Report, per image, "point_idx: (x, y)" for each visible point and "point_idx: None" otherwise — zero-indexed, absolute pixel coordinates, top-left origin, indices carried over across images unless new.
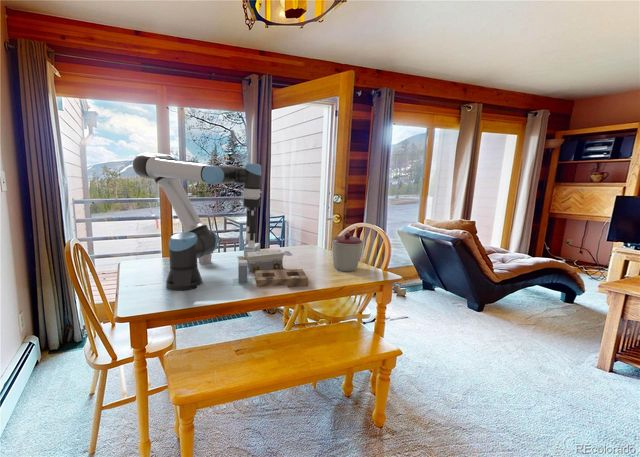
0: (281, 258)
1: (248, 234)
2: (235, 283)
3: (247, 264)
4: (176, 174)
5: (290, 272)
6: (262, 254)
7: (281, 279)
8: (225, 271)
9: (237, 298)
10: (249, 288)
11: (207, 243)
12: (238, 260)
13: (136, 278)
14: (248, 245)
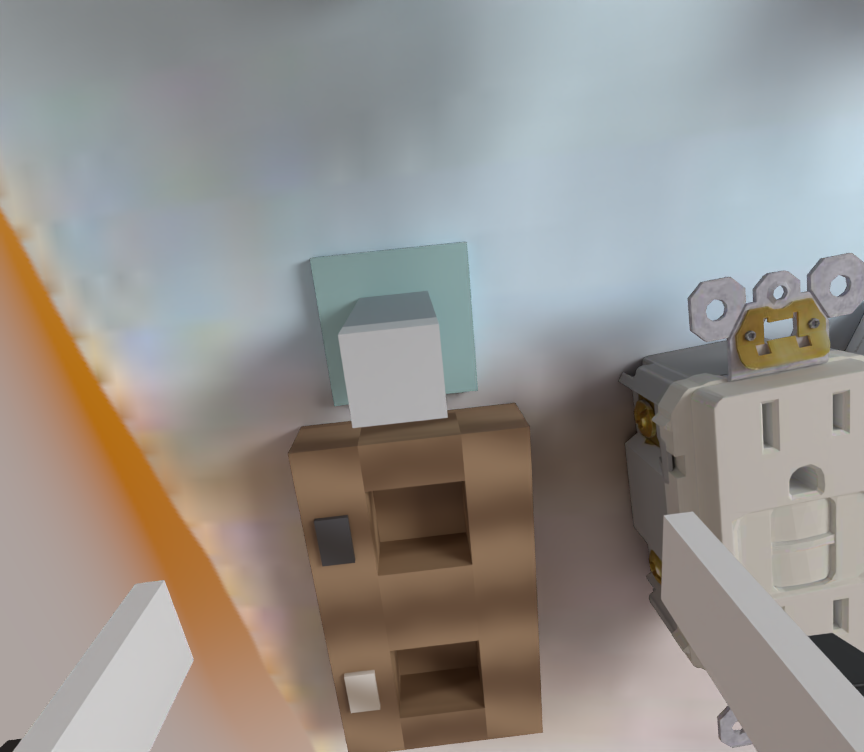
0: (687, 653)
1: (727, 630)
2: (357, 274)
3: (862, 326)
4: None
5: (480, 662)
6: (769, 524)
7: (320, 612)
8: (717, 145)
9: (103, 313)
10: (302, 379)
11: None
12: (429, 326)
13: None
14: (117, 612)
